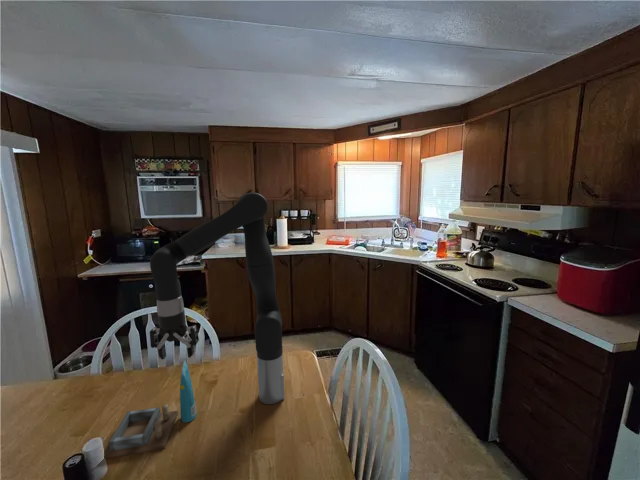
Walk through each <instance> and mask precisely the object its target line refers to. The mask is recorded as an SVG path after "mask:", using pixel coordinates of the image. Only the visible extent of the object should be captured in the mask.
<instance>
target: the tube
mask: <svg viewBox="0 0 640 480" xmlns="http://www.w3.org/2000/svg"><path fill="white" fill-rule="evenodd" d="M180 376H181V377H180V381H179V382H180V385H179V405H180V406H179V407H180V410H179V411H180V421H181V422H183V423H190V422H192V421H193V420H195V419H196V417H197V414H198V413H197V407H196V401H195V400H196V399H195V395H194V390H193V389H194V388H193V385H192V378H191V373H190V370H189V366H188V364H187V361H186V360H184V361H183V364H182V369H181V375H180Z"/></svg>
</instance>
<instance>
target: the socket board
mask: <svg viewBox="0 0 640 480" xmlns="http://www.w3.org/2000/svg"><path fill="white" fill-rule="evenodd" d="M161 411H162V412H161ZM178 415H179V414H178V410H173V411H170V410H169V404H168V403H167V404H166V403H165V404H163V405H162V406H161V407H154V408H153V407H152V408H144V409H139V410H138V409H137V410H131V411H127V412H126V413H125V415H123V418H122V419H121V421H120V422H119V424H118V425H117V426H118V427H117V428H116V430H115V432H114V433H113V435H112V436H111V438H110V440H109V441H108V445H109V446H108V448H106V449H107V450H106V451H105V453H104V454H105V456H106V458H105V459H109V458H115V457H116V458H117V457H123V456H128V455H134V454H140V453H141V454H142V453H147V452H153V451H159V450H160V451H161V450H164V449H166V447H167V444H168V441H169V439H170V436H171V433H172V430H173V428H174V425H175V422H176V420H177V418H178ZM105 456H104V457H105Z"/></svg>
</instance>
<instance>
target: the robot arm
mask: <svg viewBox="0 0 640 480" xmlns="http://www.w3.org/2000/svg"><path fill="white" fill-rule="evenodd" d="M268 207H269V205H268V201H267V199H266V198H265V196H263V195H262V194H260V193H259V192H258V193H257V192H246V193H244V194H242V195H241V196H240V198H239V199H238V201H237V203H236V204H234V205H233V206H232V207H231V208H230V209H228V210H227V211H225V212H224V213H221V214H220V215H219V216H217V217H214V218H212V219H210V220H208V221H206V222H204V223H202V224H200V225H198V226H197V227H195V228H193V229H191V230H190V231H188V232H187V233H185V234H183V235H182V236H180V237H179V238H177V239H175V240H174V241H172V242H171V241H170V242H169V243H167V244H165V245H164V246H162V247H160V248H158V249H157V250H156V251H155V252H154V253H153V254H152V255H151V257H150V259H149V260H150V261H149V266H150V267H149V268H150V272H151V276H152V279H153V283H154V289H155V296H156V312H157V318H158V327H156V326H154V327H153V328H152V329H150V331H149V340H150V341H149V343H150V348H151V349H153V348H156V349H157V353H158V357H159V358H160V360H165V359H166V357H167V350H166V345H165V343H166V342H168V343H169V342H170V343H171V342H179V341H180V343H181V344H184V346H186V351H187V358H189V359H190V358H192V357H193V355H194V353H195V349H194V346H197V344H198V342H200V338H199V332H198V328H197V325H196V324H192V325H191V326H188V325H187V324H186V322H187V321H186V313H185V305H184V298H183V296H182V289H181V287H182V286H181V281H180V279H179V278H178V269H177V268H178V264H179V263H181V262H183V261H184V260H186V259H187V258H188V257H193V256H195V255H197V254H199V253H200V252H202V251H204V250H206V249H207V248H209V247H210V246H211V245H213V244H215V243H216V242H218V241H219V240H221V239H223V237H225V236H227V235H228V234H230V233H232V232H234V231H236V230H237V229H240V228H242V229H243V235H244V251H245V253H244V254H245V262H246V269H247V270H246V271H247V277H248V279H249V284H250V285H251V288H252V291H253V293H254V296H255V301H256V302H255V303H256V319H255V320H256V321H255V325H254V339H255V350H256V363H257V384H258V399H259V401H260V402H261V403H262V404H265V405H274V404H277V403H279V402H280V401H283V400H285V376H284V360H283V359H284V358H283V357H284V354H283V349H284V348H283V333H282V332H283V328H282V325H283V324H282V323H283V320H282V319H283V318H282V314H281V309H280V306H279V303H278V299H277V293H276V291H277V290H276V288H277V287H276V285H277V282H276V271H275V269H276V268H275V262H274V257H273V256H274V255H273V252H272V250H271V249H272V248H271V245H270V243H269V242H270V241H269V239H268V237H267V233H266V227H265V226H266V225H265V215H266V214H267V212H268V209H269V208H268ZM187 332H188V333H187ZM159 334H160V336H161V337H162V338H161V340H160V341H159ZM189 334H190V335H189Z"/></svg>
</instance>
